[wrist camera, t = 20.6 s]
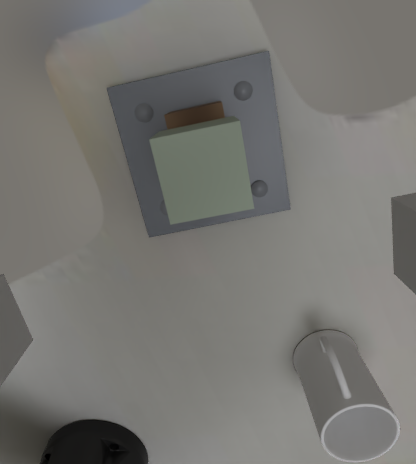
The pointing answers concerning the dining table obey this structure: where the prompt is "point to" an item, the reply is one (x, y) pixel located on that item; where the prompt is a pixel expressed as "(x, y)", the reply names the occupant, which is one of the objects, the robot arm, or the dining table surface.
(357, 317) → the dining table surface
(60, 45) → the dining table surface
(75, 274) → the dining table surface
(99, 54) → the dining table surface
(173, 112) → the walnut brick
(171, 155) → the sage brick
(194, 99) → the plate
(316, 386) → the mug
